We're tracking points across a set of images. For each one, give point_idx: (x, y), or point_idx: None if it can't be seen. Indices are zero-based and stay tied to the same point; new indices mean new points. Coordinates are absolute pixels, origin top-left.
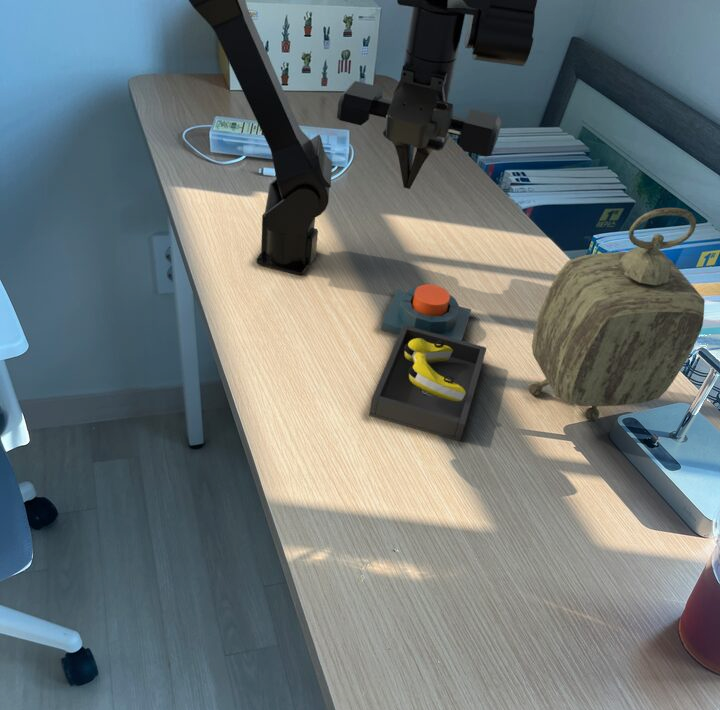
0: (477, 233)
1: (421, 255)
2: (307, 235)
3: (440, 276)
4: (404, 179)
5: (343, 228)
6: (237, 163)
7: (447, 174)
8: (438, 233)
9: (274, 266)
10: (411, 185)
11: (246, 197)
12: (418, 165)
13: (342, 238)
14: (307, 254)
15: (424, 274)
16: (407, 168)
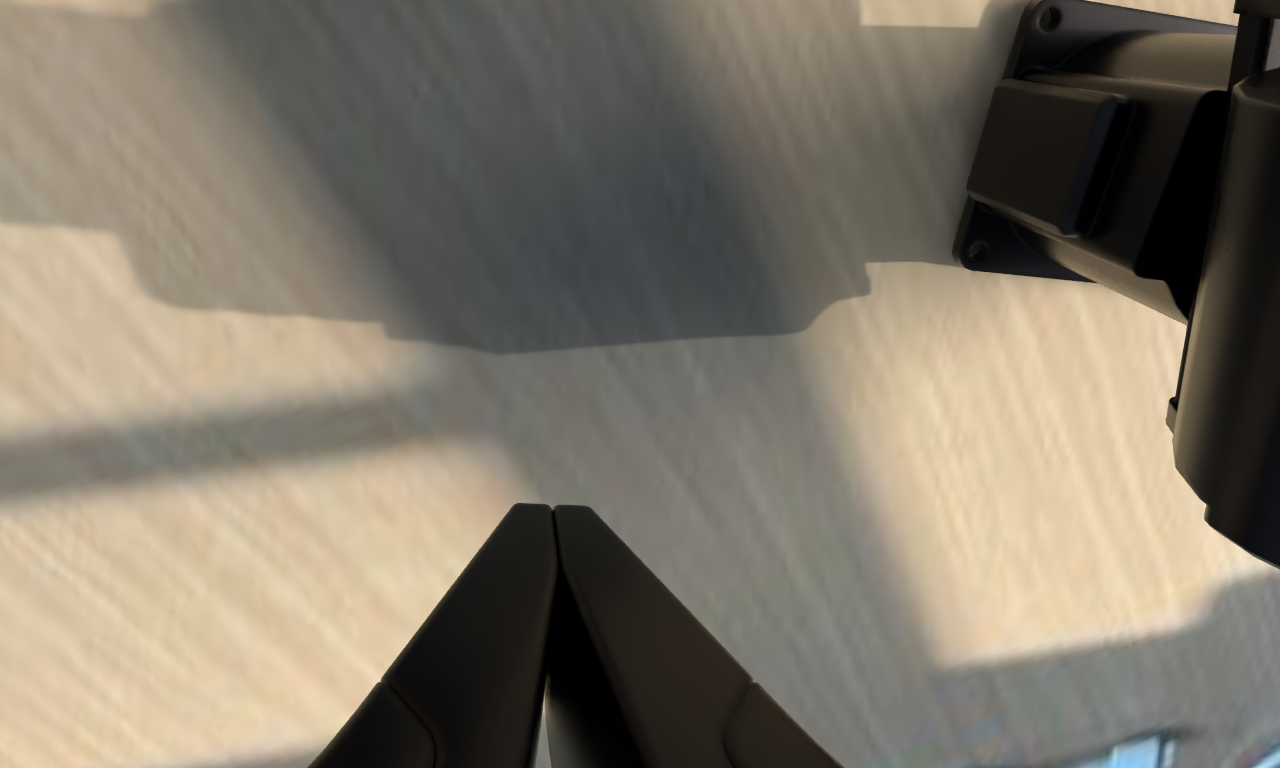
0: (186, 726)
1: (410, 447)
2: (1152, 95)
3: (257, 292)
4: (603, 552)
5: (823, 518)
6: (1249, 763)
7: None
8: (372, 654)
9: (1178, 18)
10: (500, 523)
11: (1239, 572)
12: (418, 705)
13: (822, 438)
14: (1055, 83)
15: (352, 278)
16: (603, 643)
